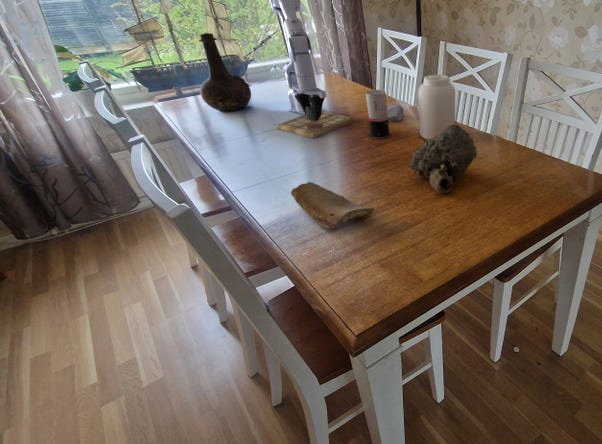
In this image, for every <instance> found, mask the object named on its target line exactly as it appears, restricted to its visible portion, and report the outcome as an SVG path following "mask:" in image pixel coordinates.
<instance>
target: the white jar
mask: <svg viewBox="0 0 602 444" xmlns="http://www.w3.org/2000/svg"><path fill="white" fill-rule="evenodd" d="M455 88H456V87H455V86H454V85H453V84H452V83H451V79H450V77H449V76H448V75H445V74H439V73H437V74H435V73H434V74H428V75H425V76H424V77H423V82H422V84H420V85H419V87H418V92H417V96H418V99H417V100H418V123H419V124H418V125H419V128H418V129H419V135H420V137H421V138H422V139H424V140H426V141H427V140H428V139H430V138H435V137H436V136H438V135H440V134H441V133H442V132H443V131H444V130H445V129H446V128H447V127H448V126H451V125H453V124H454V125H456V89H455Z"/></svg>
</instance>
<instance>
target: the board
mask: <svg viewBox="0 0 602 444" xmlns="http://www.w3.org/2000/svg"><path fill="white" fill-rule="evenodd" d="M353 121H354V120H353V117H350V116H346V115H341V114H336V113H333V112H329V111H323V110H322V112H321V116H320V119H319V120H317V121H310V120H309V119H307V115H305V114H302V115H301V116H298V117H295V118H292V119H289V120H287V121H283V122H280V123H277V125H276V126H277V129H279V130H282V131H285V132H288V133H292V134H296V135H300V136H303V137H306V138H307V137H308V138H311V139H315V138H318V137H320V136H323V135H324V134H327V133H331V132H332V131H334V130H336V129H338V128H341V127H344V126H346V125H348V124H351V123H352V122H353Z"/></svg>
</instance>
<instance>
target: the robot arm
mask: <svg viewBox="0 0 602 444" xmlns="http://www.w3.org/2000/svg"><path fill="white" fill-rule="evenodd" d="M269 3H270V8H271V10H272V12H273V13H276V14H278V16H279V18H280V20H281V24H282V29H283V33H284V38H285V42H286V45H287V46H286V47H287V52H288V56H289V61H290V62H289V63H288V64H287V65H286V66H285V67H284V68H285V69H284V72H285V78H286V83H287V86H288V88H289V89H288V93H287V95H288V101H289V105H290V109H289V111H290V112H293V113H297V114H301V115H306V111H305V107H306V105H307V104H311V105H312V107H313V110H314V114H315V117H320V116H321V112H322V111H323V110H322V109H323V104H324V101H325V99H326V98H327V91H325V90H323V89H321V88H319V87H317V82H316V77H315V70H314V65H313V60H312V52H313V51H312V44H311V40H310V37H309V35H308V34H307V32H306V31H305V28H304V27H305V26H304V24H303V22H302V20H301V19H300V18H299V17H298V15H297V13H298V12H299V11H300V8H301V0H269Z"/></svg>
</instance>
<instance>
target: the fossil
mask: <svg viewBox="0 0 602 444" xmlns="http://www.w3.org/2000/svg"><path fill="white" fill-rule="evenodd" d="M290 194H291V197H292V198H293V200H294V201H295V202H296V204H297V205H298V206H299V207H300V208H301V210H302V211H303V212H304V213H306V215H307V216H308V217H310V218H311V220H313V221H314V222H315V223H316V224H317V225H320V226H321V227H324V228H326V229H329V230H333V229H335V228H337V227H339V226H340V225H342V224H344V223H346V222H347V221H349V220H353V219H356V218H360V217H368V216H373V212H374V211H375V208H374V207H367V206H362V205H358V204H355V203H353V202H351V201H350V200H348V199H347V198H346V197H344V196H343V195H340V194H338V193H336V192H333V191H332V190H329V189H327V188H325V187H323V186H321V185H319V184H316V183H315V182H312V181H308V182H306V183H301V184H299V185H298V186H297V187H294V188H293V189H292V190H291V191H290Z"/></svg>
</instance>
